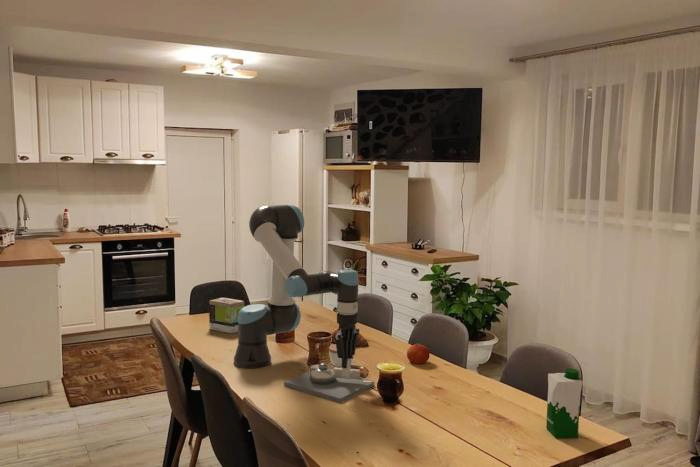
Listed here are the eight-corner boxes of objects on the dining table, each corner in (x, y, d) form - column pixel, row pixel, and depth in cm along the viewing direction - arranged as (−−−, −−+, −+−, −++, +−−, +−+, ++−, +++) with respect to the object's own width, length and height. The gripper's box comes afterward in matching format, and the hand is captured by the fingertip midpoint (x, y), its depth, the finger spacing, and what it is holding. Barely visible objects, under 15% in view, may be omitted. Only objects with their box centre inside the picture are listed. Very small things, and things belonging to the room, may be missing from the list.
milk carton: (582, 439, 181) (586, 375, 179) (553, 440, 180) (557, 375, 178) (569, 427, 189) (573, 365, 187) (541, 427, 189) (545, 366, 186)
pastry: (358, 337, 287) (359, 321, 286) (369, 346, 272) (369, 329, 271) (324, 339, 282) (325, 323, 281) (333, 349, 267) (333, 331, 266)
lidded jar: (351, 371, 238) (352, 348, 237) (325, 368, 240) (326, 346, 239) (357, 362, 248) (357, 340, 247) (331, 360, 250) (332, 338, 249)
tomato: (403, 363, 249) (403, 344, 248) (411, 357, 257) (412, 339, 256) (424, 367, 244) (425, 348, 244) (432, 361, 253) (432, 342, 252)
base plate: (284, 385, 221) (284, 381, 220) (319, 370, 237) (319, 366, 237) (340, 402, 205) (340, 398, 205) (374, 385, 222) (374, 381, 222)
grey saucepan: (305, 382, 219) (305, 367, 219) (312, 373, 229) (312, 358, 228) (363, 387, 215) (364, 372, 214) (368, 378, 225) (368, 363, 224)
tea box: (245, 329, 296) (245, 300, 294) (230, 334, 287) (230, 304, 286) (223, 325, 304) (222, 296, 302) (208, 329, 295) (208, 299, 294)
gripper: (344, 317, 209) (343, 382, 211) (365, 311, 220) (364, 373, 222) (328, 314, 214) (326, 378, 216) (349, 308, 224) (348, 369, 226)
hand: (345, 375), depth 219 cm, fingers closed
